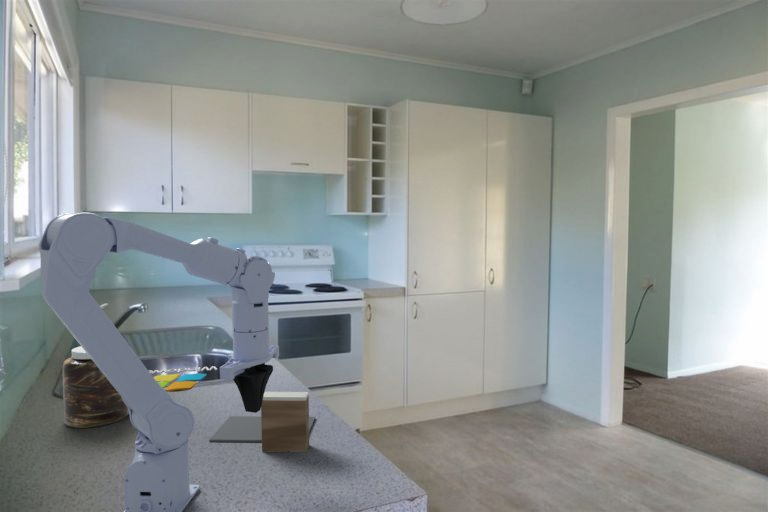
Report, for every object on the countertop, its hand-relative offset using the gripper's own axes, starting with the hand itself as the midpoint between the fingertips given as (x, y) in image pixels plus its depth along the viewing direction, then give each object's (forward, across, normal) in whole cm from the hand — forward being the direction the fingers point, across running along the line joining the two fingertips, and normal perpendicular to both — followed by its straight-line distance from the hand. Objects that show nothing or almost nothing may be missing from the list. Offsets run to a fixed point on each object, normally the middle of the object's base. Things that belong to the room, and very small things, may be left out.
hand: (252, 410), depth 89 cm
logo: (+11, -38, -48) cm, 62 cm away
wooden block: (+10, -9, +1) cm, 14 cm away
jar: (+10, -11, -45) cm, 47 cm away
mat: (+10, -16, -8) cm, 20 cm away
